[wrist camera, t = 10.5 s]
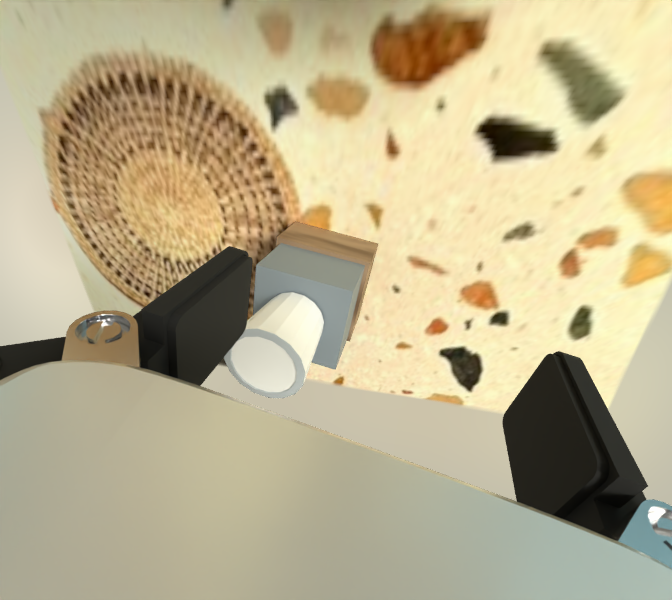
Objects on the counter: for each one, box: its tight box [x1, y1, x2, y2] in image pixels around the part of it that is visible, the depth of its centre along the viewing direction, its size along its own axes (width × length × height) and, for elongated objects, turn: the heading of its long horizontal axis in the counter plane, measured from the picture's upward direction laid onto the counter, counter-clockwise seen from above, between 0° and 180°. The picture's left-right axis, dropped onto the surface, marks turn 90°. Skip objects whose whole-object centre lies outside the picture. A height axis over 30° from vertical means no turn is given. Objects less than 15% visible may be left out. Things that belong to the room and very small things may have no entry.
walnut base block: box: [275, 222, 378, 341], centre depth 41 cm, size 10×10×6 cm
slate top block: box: [253, 243, 365, 369], centre depth 36 cm, size 9×9×6 cm
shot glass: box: [224, 292, 324, 398], centre depth 30 cm, size 7×7×7 cm
